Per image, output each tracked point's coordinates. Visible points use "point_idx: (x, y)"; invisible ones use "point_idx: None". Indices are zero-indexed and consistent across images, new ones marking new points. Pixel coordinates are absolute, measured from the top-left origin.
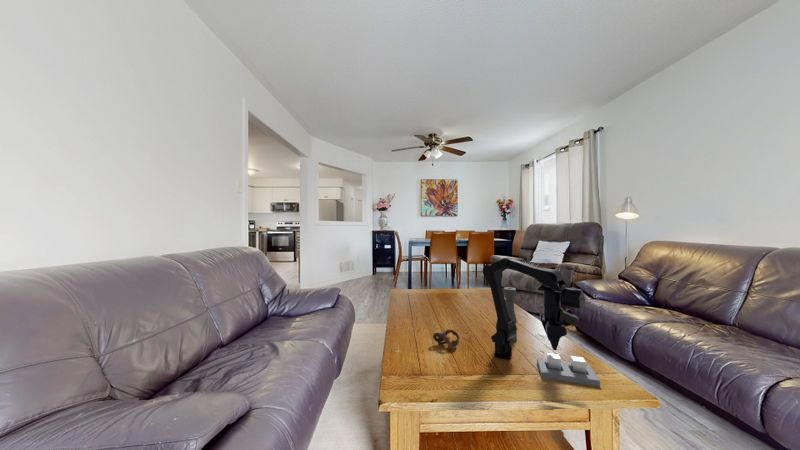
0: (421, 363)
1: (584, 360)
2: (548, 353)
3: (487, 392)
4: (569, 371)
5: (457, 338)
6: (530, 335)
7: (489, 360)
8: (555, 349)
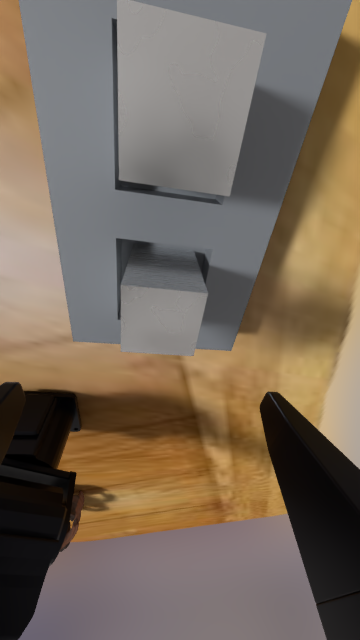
0: (174, 508)
1: (216, 31)
2: (127, 345)
3: None
4: (210, 214)
5: None
6: None
7: (111, 435)
8: (277, 400)
